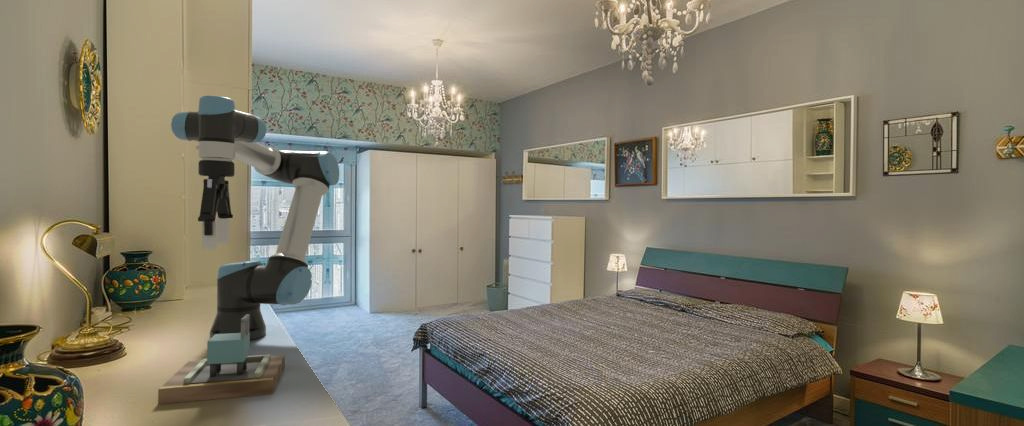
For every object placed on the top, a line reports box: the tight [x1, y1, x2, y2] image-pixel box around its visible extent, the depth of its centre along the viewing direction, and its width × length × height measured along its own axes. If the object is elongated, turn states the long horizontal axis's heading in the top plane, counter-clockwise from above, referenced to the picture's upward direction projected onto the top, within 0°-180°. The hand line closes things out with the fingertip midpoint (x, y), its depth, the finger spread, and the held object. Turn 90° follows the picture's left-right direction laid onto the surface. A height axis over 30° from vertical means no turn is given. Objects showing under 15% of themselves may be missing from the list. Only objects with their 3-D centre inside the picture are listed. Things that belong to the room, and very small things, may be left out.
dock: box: [157, 353, 286, 405], centre depth 108 cm, size 18×21×4 cm
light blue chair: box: [206, 314, 251, 377], centre depth 106 cm, size 6×7×12 cm
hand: (216, 246), depth 117 cm, fingers open, 13 cm apart
